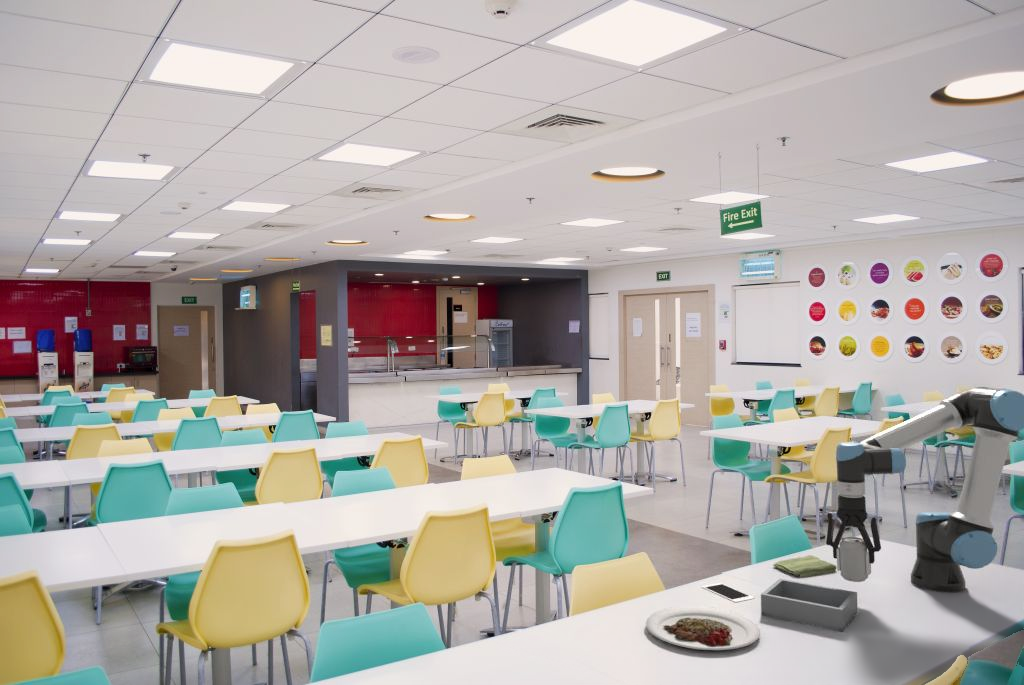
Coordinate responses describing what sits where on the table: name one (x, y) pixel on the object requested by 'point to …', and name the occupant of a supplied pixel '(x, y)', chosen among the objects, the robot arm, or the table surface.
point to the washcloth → (805, 566)
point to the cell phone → (728, 592)
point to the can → (853, 559)
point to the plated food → (703, 628)
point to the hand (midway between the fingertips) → (854, 571)
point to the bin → (809, 604)
